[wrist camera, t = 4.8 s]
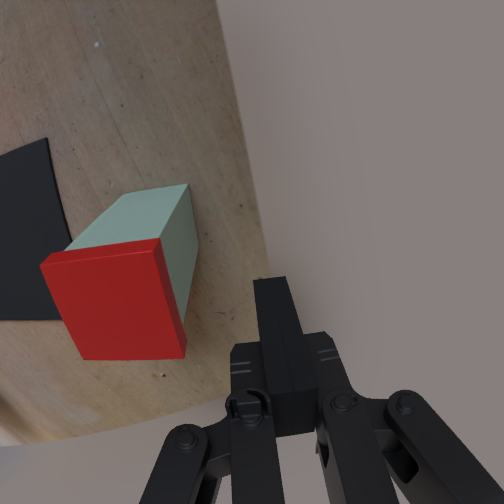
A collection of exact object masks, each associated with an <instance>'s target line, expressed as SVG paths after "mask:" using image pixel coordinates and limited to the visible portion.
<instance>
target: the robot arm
mask: <svg viewBox="0 0 504 504" xmlns="http://www.w3.org/2000/svg"><path fill="white" fill-rule="evenodd" d="M253 285H254V294H255V303H256V311H257V320H258V329H259V336H260V341H257V342H248V343H239V344H235V345H234V347H233V349H232V351H231V353H230V365H231V366H230V372H231V394H230V395H229V396H228V398H227V399H226V403H225V408H226V411H227V416H226V417H225V418H224V419H222V420H221V421H220V422H218V423H215V424H213V425H210V426H207V427H204V428H201V427H199V426H196V425H194V424H183V425H180V426H177V427H175V428H174V429H172V430H171V431H170V432H169V434H168V435H167V437H166V439H165V441H164V444H163V446H162V449H161V451H160V454H159V456H158V458H157V461H156V463H155V466H154V468H153V471H152V473H151V475H150V478H149V480H148V483H147V485H146V488H145V490H144V493H143V495H142V497H141V500H140V502H139V504H215V502H216V498H217V495H218V491H219V488H220V484H221V480H222V477H224V476H227V475H230V474H231V486H232V504H285V501H284V493H283V487H282V480H281V472H280V466H279V459H278V452H277V444H276V437H284V436H291V435H297V434H303V433H309V432H314V430H315V428H316V432H317V444H316V454H317V453H319V456H320V461H321V465H322V469H323V474H324V478H325V483H326V487H327V492H328V496H329V500H330V504H399V501H398V498H397V495H396V492H395V489H394V486H393V483H392V480H391V477H392V479H393V480H394V481H395V483H396V484H397V486H398V487H399V489H400V490H401V491H402V493H403V494H404V496H405V497H406V498H407V500H408V501H409V503H410V504H504V491H503V490H502V488H501V487H500V486H499V485H498V484H497V482H496V481H495V480H494V479H493V478H492V476H491V475H490V474H489V473H488V472H487V471H486V469H485V468H484V467H483V466H482V465H481V463H479V461H478V460H477V459H476V458H475V456H474V455H473V454H472V453H471V452H470V451H469V450H468V448H467V447H466V446H465V445H464V444H463V443H462V442H461V440H460V439H459V438H458V437H457V436H456V435H455V433H454V432H453V431H452V430H451V429H450V428H449V427H448V426H447V425H446V423H445V422H444V421H443V420H442V419H441V418H440V417H439V416H438V414H437V413H436V412H435V411H434V410H433V409H432V408H431V406H430V405H429V404H428V403H427V402H426V401H425V400H424V399H423V398H422V396H420V395H419V394H418V393H416V392H414V391H411V390H400V391H397V392H395V393H394V394H392V395H391V396H390V397H389V399H371V398H365V397H363V396H361V395H359V394H358V393H356V392H355V391H354V390H353V388H352V386H351V384H350V382H349V379H348V376H347V374H346V372H345V369H344V366H343V364H342V361H341V359H340V357H339V354H338V351H337V349H336V346H335V343H334V341H333V339H332V338H331V337H330V336H329V335H328V334H327V333H326V332H325V331H323V332H317V333H310V334H304V335H303V332H302V329H301V325H300V322H299V319H298V315H297V312H296V309H295V306H294V302H293V299H292V296H291V293H290V290H289V286H288V283H287V280H286V277H285V276H283V277H275V278H267V279H258V280H253ZM390 476H391V477H390Z"/></svg>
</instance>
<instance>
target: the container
mask: <svg viewBox="0 0 504 504" xmlns="http://www.w3.org/2000/svg"><path fill="white" fill-rule="evenodd" d="M198 249H199V243H198V237H197V232H196V226H195V220H194V215H193V209H192V203H191V197H190V190H189V184H181V185H174V186H167V187H161V188H155V189H149V190H143V191H137V192H132V193H126V194H124V195H122V196H121V197H120V198H119V199H118V200H117V201H116V202H115V203H113V204H112V205H111V206H110V207H109V208H108V209H107V210H106V211H105V212H103V213H102V214H101V215H100V216H99V217H98V218H97V219H96V220H95V221H94V222H93V223H92V224H91V225H89V226H88V227H87V228H86V229H85V230H84V231H83V232H82V233H81V234H80V235H79V236H78V237H77V238H76V239H75V240H74V241H73V242H72V243H71V244H70V245H69V246H68V247H67V248H66V249H65V250H64V251H61V252H55V253H51V254H50V255H49V256H48V257H47V258H46V259H45V260H44V261H43V262H42V263H41V265H40V268H41V271H42V273H43V276H44V278H45V281H46V283H47V286H48V288H49V290H50V293H51V295H52V297H53V300H54V302H55V304H56V306H57V308H58V311H59V313H60V315H61V317H62V319H63V321H64V323H65V325H66V327H67V329H68V331H69V333H70V335H71V337H72V339H73V341H74V343H75V345H76V347H77V349H78V351H79V352H80V354H81V356H82V358H83V360H162V359H183V358H185V352H186V345H187V339H186V335H185V332H184V329H183V324H184V319H185V313H186V308H187V303H188V298H189V292H190V287H191V282H192V277H193V273H194V268H195V263H196V258H197V253H198Z"/></svg>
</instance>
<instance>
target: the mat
mask: <svg viewBox="0 0 504 504" xmlns="http://www.w3.org/2000/svg"><path fill="white" fill-rule="evenodd" d="M71 243H72V240H71V236H70V233H69V230H68V226H67V223H66V219H65V216H64V212H63V208H62V205H61V201H60V197H59V193H58V188H57V184H56V180H55V175H54V171H53V166H52V161H51V156H50V150H49V145H48V139H47V138H43V139H41V140H38V141H35V142H33V143H30V144H28V145H25V146H22V147H20V148H18V149H15V150H13V151H10V152H8V153H6V154H3V155H1V156H0V320H59V319H62V317H61V315H60V313H59V311H58V308H57V306H56V304H55V302H54V300H53V297H52V295H51V293H50V290H49V288H48V286H47V283H46V281H45V278H44V276H43V273H42V271H41V268H40V265H41V263H42V262H43V261H44V260H45V259H46V258H47V257H48V256H49V255H50V254H51V253H55V252H61V251H64V250H65V249H66V248H67V247H68V246H69V245H70V244H71Z"/></svg>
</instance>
